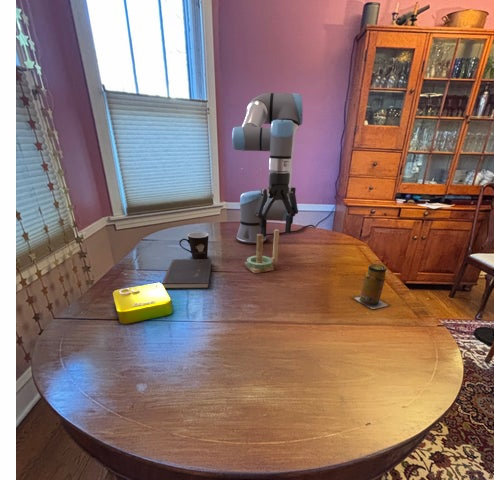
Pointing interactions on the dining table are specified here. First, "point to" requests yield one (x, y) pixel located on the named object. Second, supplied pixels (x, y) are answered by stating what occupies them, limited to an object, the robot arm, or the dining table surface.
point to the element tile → (142, 303)
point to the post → (259, 256)
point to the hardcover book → (188, 274)
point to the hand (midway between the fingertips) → (275, 234)
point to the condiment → (373, 287)
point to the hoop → (266, 259)
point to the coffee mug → (197, 244)
